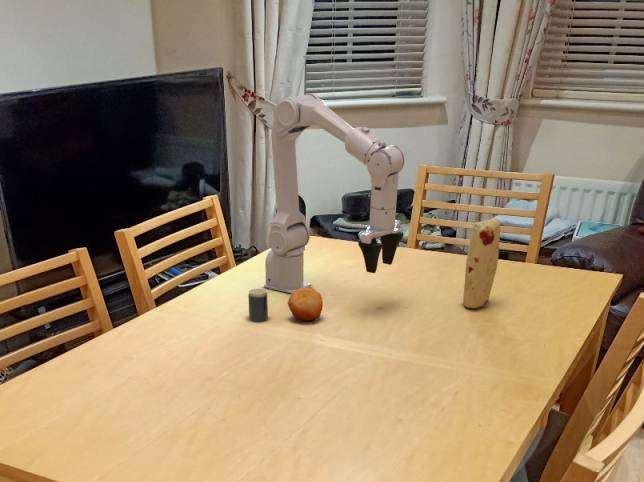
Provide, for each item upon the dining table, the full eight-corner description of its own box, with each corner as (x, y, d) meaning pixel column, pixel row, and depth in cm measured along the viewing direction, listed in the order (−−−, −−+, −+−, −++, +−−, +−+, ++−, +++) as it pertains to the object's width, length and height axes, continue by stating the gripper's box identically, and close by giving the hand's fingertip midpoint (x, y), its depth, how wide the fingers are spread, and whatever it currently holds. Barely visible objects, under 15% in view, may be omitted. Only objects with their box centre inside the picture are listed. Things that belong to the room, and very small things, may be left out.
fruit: (324, 304, 181) (323, 281, 174) (322, 331, 178) (321, 309, 170) (290, 303, 182) (288, 280, 174) (288, 330, 178) (285, 308, 171)
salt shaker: (245, 319, 177) (244, 292, 173) (256, 314, 180) (255, 287, 176) (260, 323, 175) (259, 295, 171) (271, 317, 178) (271, 290, 174)
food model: (480, 313, 179) (492, 226, 168) (454, 308, 182) (464, 222, 171) (496, 301, 186) (509, 217, 174) (471, 296, 189) (482, 213, 177)
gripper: (382, 216, 162) (378, 279, 169) (414, 202, 171) (409, 263, 179) (354, 211, 165) (351, 273, 173) (387, 198, 175) (383, 257, 182)
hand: (379, 267), depth 176 cm, fingers open, 7 cm apart
